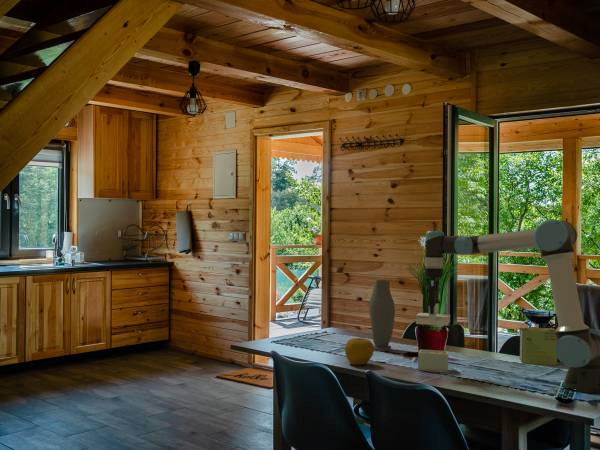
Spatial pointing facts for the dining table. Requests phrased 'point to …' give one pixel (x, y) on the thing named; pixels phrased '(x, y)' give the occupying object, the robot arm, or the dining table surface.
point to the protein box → (538, 345)
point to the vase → (382, 315)
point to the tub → (433, 360)
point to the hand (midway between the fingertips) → (433, 320)
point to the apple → (359, 351)
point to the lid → (439, 319)
